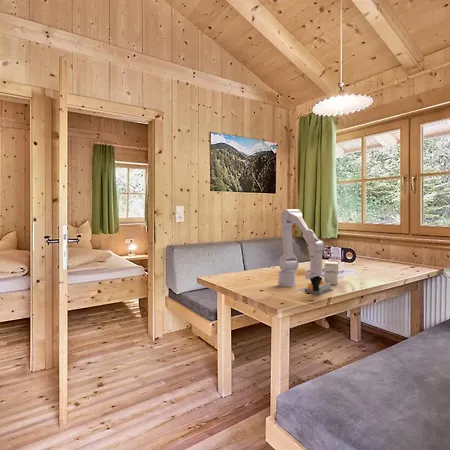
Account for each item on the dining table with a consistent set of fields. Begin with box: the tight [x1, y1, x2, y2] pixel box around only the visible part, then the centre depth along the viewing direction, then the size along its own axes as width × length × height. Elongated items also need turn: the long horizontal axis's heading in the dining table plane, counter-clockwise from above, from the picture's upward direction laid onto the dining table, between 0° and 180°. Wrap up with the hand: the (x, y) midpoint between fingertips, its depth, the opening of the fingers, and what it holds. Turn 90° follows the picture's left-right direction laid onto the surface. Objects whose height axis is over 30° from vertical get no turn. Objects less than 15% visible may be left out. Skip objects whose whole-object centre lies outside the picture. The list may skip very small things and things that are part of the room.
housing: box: [298, 286, 334, 296], centre depth 167 cm, size 14×13×2 cm
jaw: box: [307, 281, 316, 293], centre depth 164 cm, size 4×4×5 cm
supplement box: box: [323, 261, 339, 286], centre depth 186 cm, size 7×7×13 cm
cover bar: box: [315, 283, 332, 293], centre depth 163 cm, size 13×3×4 cm, turn 130°
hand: (315, 291), depth 159 cm, fingers closed
